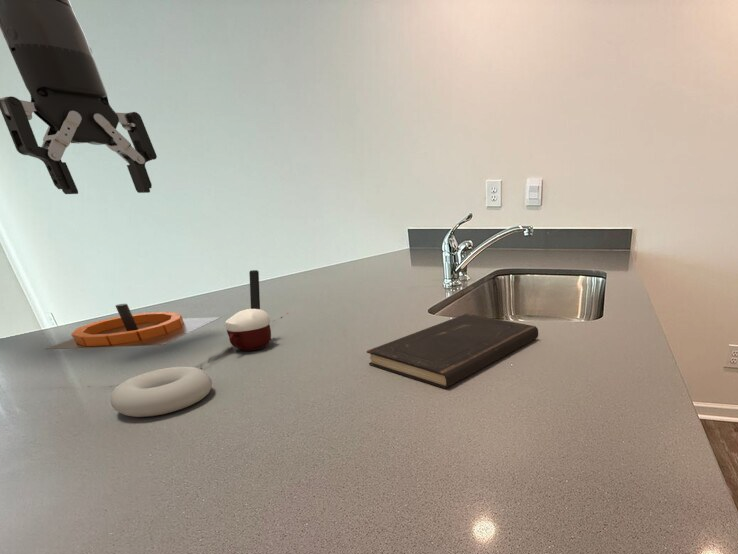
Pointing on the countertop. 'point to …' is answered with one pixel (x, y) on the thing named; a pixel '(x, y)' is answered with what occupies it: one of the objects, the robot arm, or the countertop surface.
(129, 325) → the post board
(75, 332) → the ring
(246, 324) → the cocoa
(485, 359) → the hardcover book
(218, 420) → the countertop surface
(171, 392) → the donut
